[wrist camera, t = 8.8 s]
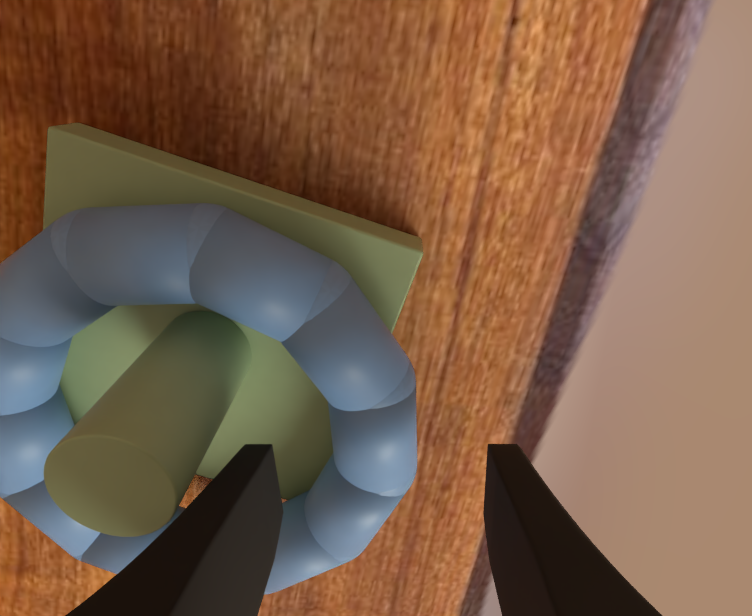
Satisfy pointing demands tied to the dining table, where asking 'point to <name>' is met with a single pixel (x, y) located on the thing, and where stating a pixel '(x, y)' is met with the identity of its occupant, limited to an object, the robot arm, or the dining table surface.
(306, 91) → the dining table surface
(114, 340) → the peg stand
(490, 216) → the dining table surface
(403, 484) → the ring
